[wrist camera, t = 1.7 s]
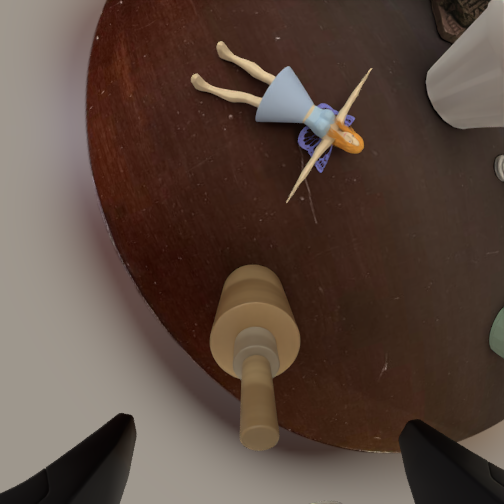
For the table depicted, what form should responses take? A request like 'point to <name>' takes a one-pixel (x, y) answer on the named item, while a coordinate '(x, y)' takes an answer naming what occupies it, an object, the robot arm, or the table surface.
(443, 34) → the statue
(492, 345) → the mint green tube
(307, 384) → the table surface
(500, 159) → the pawn
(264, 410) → the stepped wooden peg
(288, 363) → the post
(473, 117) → the cup
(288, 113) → the fairy figurine
